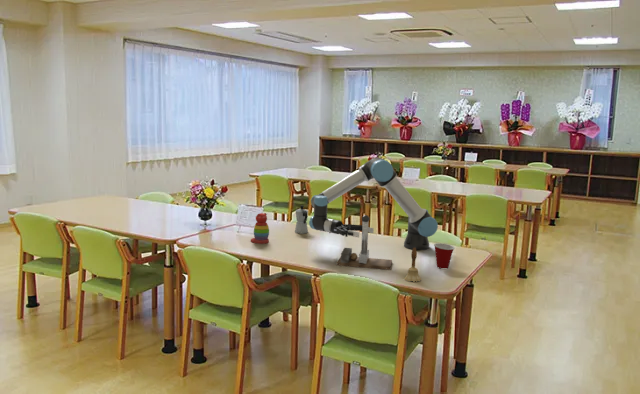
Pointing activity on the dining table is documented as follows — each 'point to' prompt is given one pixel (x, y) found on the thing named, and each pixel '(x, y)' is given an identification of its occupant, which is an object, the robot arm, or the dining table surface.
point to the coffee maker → (301, 221)
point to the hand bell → (413, 269)
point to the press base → (353, 261)
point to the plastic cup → (443, 254)
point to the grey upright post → (364, 241)
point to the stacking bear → (261, 229)
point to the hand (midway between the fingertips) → (366, 232)
